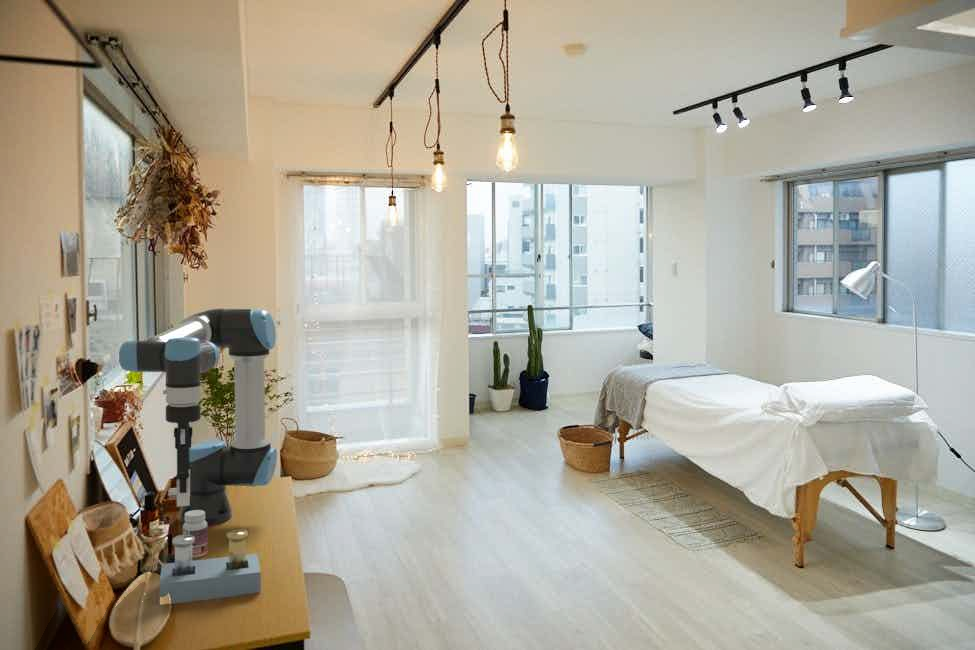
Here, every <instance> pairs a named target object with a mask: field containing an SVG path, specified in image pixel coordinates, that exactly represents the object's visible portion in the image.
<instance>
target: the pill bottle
mask: <svg viewBox="0 0 975 650" xmlns="http://www.w3.org/2000/svg"><path fill="white" fill-rule="evenodd" d="M204 519H205V511H203V510H192V511H188V512H186V513H185V518H184V520H185V521H186V522H185V523H184V524H182V535H193V536H194V537H195V542H194V543H192V559H196V558H200V557H203V556H205V555H207V554H208V547H209V546H208V539H209V538H208V525H207V522H206V521H205V520H204Z"/></svg>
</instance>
